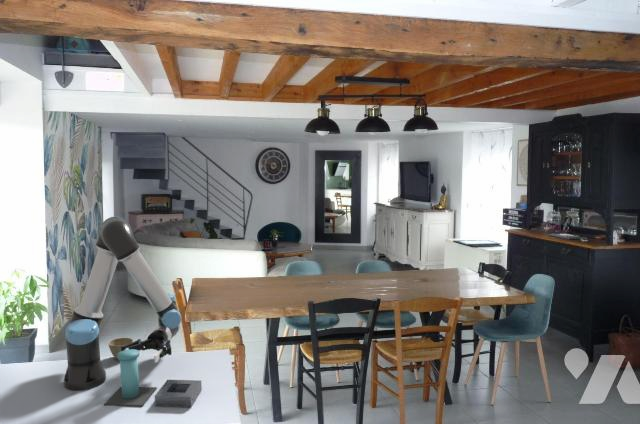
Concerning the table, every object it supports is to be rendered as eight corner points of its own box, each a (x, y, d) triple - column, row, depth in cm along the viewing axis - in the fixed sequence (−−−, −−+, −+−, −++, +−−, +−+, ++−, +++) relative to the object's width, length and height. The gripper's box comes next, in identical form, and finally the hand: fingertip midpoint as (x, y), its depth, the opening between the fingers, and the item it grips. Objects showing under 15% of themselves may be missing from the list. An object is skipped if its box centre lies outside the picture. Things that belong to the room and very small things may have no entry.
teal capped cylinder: (116, 399, 198) (113, 357, 197) (125, 390, 206) (122, 349, 204) (136, 399, 198) (134, 357, 196) (144, 390, 205) (142, 349, 204)
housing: (155, 406, 195) (154, 395, 194) (167, 389, 208) (167, 379, 207) (191, 407, 194) (190, 396, 193) (201, 390, 207) (201, 380, 206)
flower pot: (125, 363, 232) (125, 346, 231) (104, 361, 234) (103, 345, 233) (138, 353, 242) (137, 338, 241) (117, 352, 244) (116, 336, 243)
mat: (104, 405, 196) (103, 403, 195) (120, 387, 209) (120, 386, 209) (142, 406, 195) (142, 405, 194) (156, 388, 208) (156, 387, 208)
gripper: (188, 347, 227) (170, 369, 207) (130, 345, 230) (106, 367, 209) (188, 330, 226) (169, 350, 206) (129, 328, 229) (105, 348, 208)
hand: (137, 358), depth 207 cm, fingers open, 13 cm apart
